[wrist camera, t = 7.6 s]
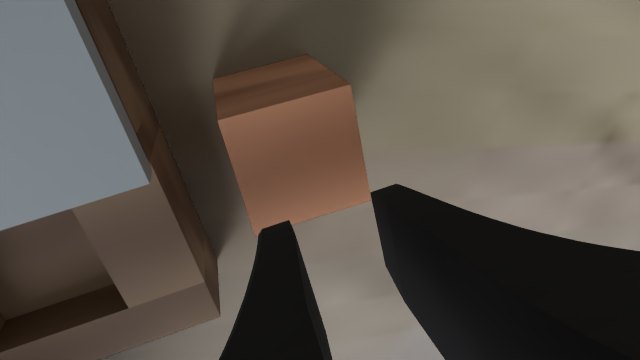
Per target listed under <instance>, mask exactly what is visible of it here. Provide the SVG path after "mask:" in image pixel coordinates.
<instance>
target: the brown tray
mask: <svg viewBox="0 0 640 360" xmlns="http://www.w3.org/2000/svg"><path fill="white" fill-rule="evenodd" d="M75 2H76V4H77V7H78V9H79V11H80V13H81V15H82V18H83V20H84V22H85V24H86V26H87V28H88V31H89V33H90V35H91V37H92V39H93V42H94V44H95V46H96V48H97V50H98V53H99V55H100V57H101V59H102V61H103V64H104V66H105V68H106V70H107V72H108V74H109V77H110V79H111V81H112V83H113V85H114V88H115V90H116V92H117V94H118V96H119V99H120V101H121V103H122V105H123V107H124V109H125V112H126V114H127V116H128V118H129V120H130V123H131V125H132V127H133V129H134V131H135V134H136V136H137V138H138V140H139V142H140V145H141V147H142V149H143V151H144V153H145V155H146V158H147V160H148V162H149V164H150V166H151V169H152V171H153V172H152V176H151V180H150V184H147V185H144V186H141V187H138V188H135V189H131V190H128V191H125V192H122V193H119V194H116V195H112V196H109V197H106V198H103V199H100V200H96V201H93V202H90V203H87V204H84V205H81V206H77V207H74V208H71V209H68V210H65V211H62V212H58V213H55V214H52V215H49V216H46V217H42V218H39V219H36V220H33V221H30V222H27V223H23V224H20V225H17V226H14V227H11V228H7V229H4V230H1V231H0V360H100V359H102V358H105V357H108V356H111V355H114V354H116V353H119V352H122V351H125V350H128V349H130V348H133V347H136V346H139V345H142V344H145V343H147V342H150V341H153V340H156V339H159V338H161V337H164V336H167V335H170V334H173V333H176V332H178V331H181V330H184V329H187V328H190V327H192V326H195V325H198V324H201V323H204V322H207V321H209V320H212V319H215V318H218V317H220V301H219V283H218V266H217V259H216V256H215V254H214V252H213V249H212V247H211V245H210V242H209V240H208V238H207V235H206V233H205V231H204V228H203V226H202V223H201V221H200V219H199V216H198V214H197V212H196V209H195V207H194V205H193V202H192V200H191V198H190V195H189V193H188V191H187V188H186V186H185V184H184V181H183V179H182V177H181V174H180V172H179V169H178V167H177V165H176V162H175V160H174V158H173V155H172V153H171V151H170V148H169V146H168V144H167V141H166V139H165V137H164V134H163V132H162V130H161V127H160V125H159V123H158V120H157V118H156V115H155V113H154V111H153V108H152V106H151V104H150V101H149V99H148V97H147V94H146V92H145V90H144V87H143V85H142V83H141V80H140V78H139V76H138V73H137V71H136V69H135V66H134V64H133V61H132V59H131V57H130V54H129V52H128V50H127V47H126V45H125V43H124V40H123V38H122V36H121V33H120V31H119V29H118V26H117V24H116V22H115V19H114V17H113V15H112V12H111V10H110V7H109V5H108V3H107V0H75Z"/></svg>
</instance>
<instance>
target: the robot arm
mask: <svg viewBox="0 0 640 360" xmlns="http://www.w3.org/2000/svg"><path fill="white" fill-rule="evenodd" d="M370 193H371V198H372V203H373V208H374V212H375V217H376V222H377V227H378V231H379V236H380V241H381V246H382V251H383V255H384V260H385V265H386V267H387V269H388V271H389V273H390V275H391V277H392V279H393V281H394V283H395V285H396V287H397V288H398V290H399V292H400V294H401V296H402V298H403V300H404V301H405V303H406V304H407V306H408V307H409V309H410V310H411V312H412V313H413V315H414V316H415V317H416V319H417V320H418V322H419V323H420V325H421V326H422V327H423V329H424V330H425V332H426V333H427V335H428V336H429V337H430V339H431V340H432V342H433V343H434V344H435V346H436V347H437V349H438V350H439V352H440V353H441V354H442V356H443V357H444V359H445V360H640V251H634V250H627V249H621V248H614V247H608V246H602V245H596V244H591V243H585V242H580V241H575V240H571V239H567V238H562V237H558V236H553V235H549V234H544V233H540V232H536V231H532V230H528V229H525V228H521V227H517V226H514V225H511V224H508V223H504V222H501V221H498V220H494V219H491V218H488V217H485V216H482V215H479V214H476V213H473V212H470V211H467V210H465V209H462V208H459V207H456V206H454V205H451V204H448V203H446V202H443V201H441V200H438V199H435V198H433V197H430V196H428V195H425V194H423V193H420V192H418V191H415V190H413V189H410V188H407V187H404V186H402V185H399V184H394V185H391V186H388V187H385V188H382V189H379V190H376V191H373V192H370ZM219 360H332V356H331V352H330V348H329V344H328V339H327V335H326V331H325V328H324V325H323V321H322V318H321V315H320V312H319V309H318V306H317V302H316V299H315V296H314V293H313V290H312V287H311V283H310V280H309V277H308V274H307V271H306V267H305V264H304V261H303V258H302V255H301V252H300V248H299V245H298V242H297V239H296V236H295V233H294V230H293V228H292V225H291V223H290V221H289V220H287V221H284V222H281V223H278V224H275V225H272V226H269V227H266V228H263V229H262V230H261V231H260V233H259V235H258V245H257V251H256V256H255V260H254V265H253V269H252V272H251V276H250V279H249V283H248V286H247V290H246V293H245V296H244V299H243V302H242V305H241V308H240V310H239V313H238V316H237V318H236V321H235V324H234V326H233V329H232V332H231V334H230V336H229V339H228V341H227V343H226V346H225V348H224V350H223V352H222V354H221V356H220V358H219Z"/></svg>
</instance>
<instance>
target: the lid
mask: <svg viewBox="0 0 640 360" xmlns="http://www.w3.org/2000/svg"><path fill="white" fill-rule="evenodd" d="M152 172H153V171H152V169H151V166H150V164H149V162H148V160H147V158H146V155H145V153H144V151H143V149H142V147H141V145H140V142H139V140H138V138H137V136H136V134H135V131H134V129H133V127H132V125H131V123H130V120H129V118H128V116H127V114H126V112H125V109H124V107H123V105H122V103H121V101H120V99H119V96H118V94H117V92H116V90H115V88H114V85H113V83H112V81H111V79H110V77H109V74H108V72H107V70H106V68H105V66H104V64H103V61H102V59H101V57H100V55H99V53H98V50H97V48H96V46H95V44H94V42H93V39H92V37H91V35H90V33H89V31H88V28H87V26H86V24H85V22H84V20H83V18H82V15H81V13H80V11H79V9H78V7H77V4H76V2H75V0H0V231H1V230H4V229H7V228H11V227H14V226H17V225H20V224H23V223H27V222H30V221H33V220H36V219H39V218H42V217H46V216H49V215H52V214H55V213H58V212H62V211H65V210H68V209H71V208H74V207H77V206H81V205H84V204H87V203H90V202H93V201H96V200H100V199H103V198H106V197H109V196H112V195H116V194H119V193H122V192H125V191H128V190H131V189H135V188H138V187H141V186H144V185H147V184H150V180H151V176H152Z"/></svg>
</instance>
